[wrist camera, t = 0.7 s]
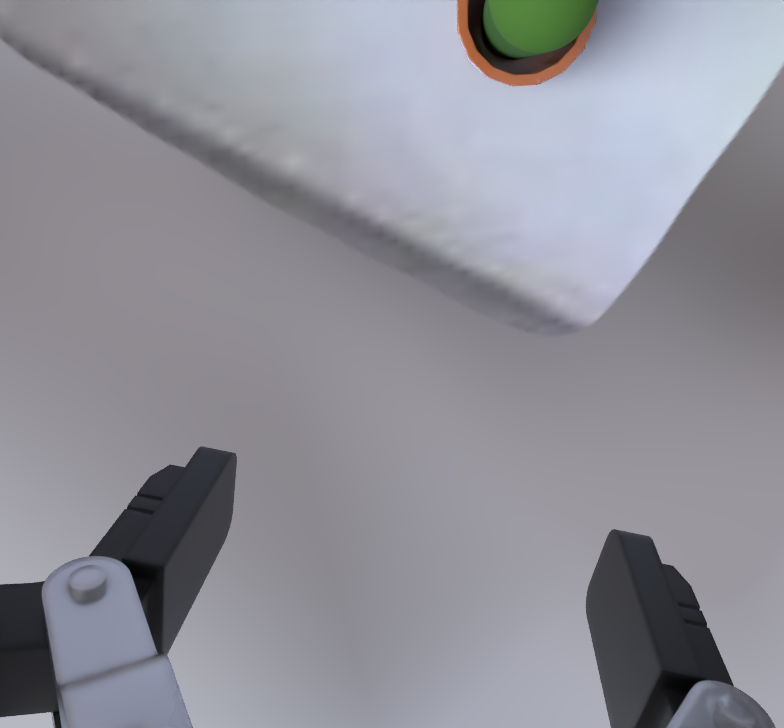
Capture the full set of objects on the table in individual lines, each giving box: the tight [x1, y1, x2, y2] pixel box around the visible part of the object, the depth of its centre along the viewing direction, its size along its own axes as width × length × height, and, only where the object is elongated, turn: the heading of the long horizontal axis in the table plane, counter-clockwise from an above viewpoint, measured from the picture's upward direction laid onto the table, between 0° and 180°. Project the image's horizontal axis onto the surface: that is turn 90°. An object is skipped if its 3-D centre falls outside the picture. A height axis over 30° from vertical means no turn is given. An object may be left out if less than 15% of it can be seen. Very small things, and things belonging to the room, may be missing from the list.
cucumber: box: [481, 0, 598, 60], centre depth 28 cm, size 4×4×15 cm
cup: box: [457, 0, 597, 86], centre depth 33 cm, size 6×6×6 cm
